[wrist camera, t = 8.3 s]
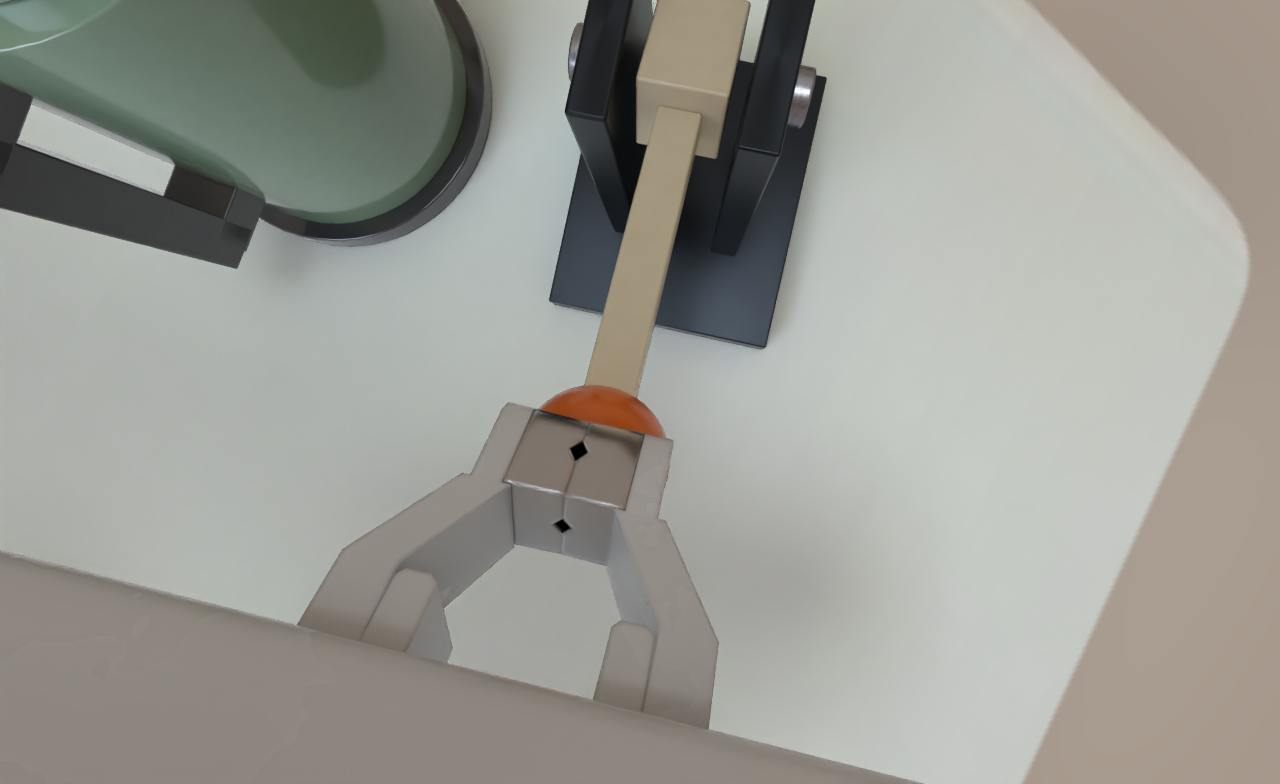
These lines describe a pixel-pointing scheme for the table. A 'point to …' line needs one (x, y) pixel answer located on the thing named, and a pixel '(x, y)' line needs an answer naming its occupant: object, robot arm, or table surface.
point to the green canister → (246, 116)
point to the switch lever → (659, 195)
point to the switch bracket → (691, 175)
